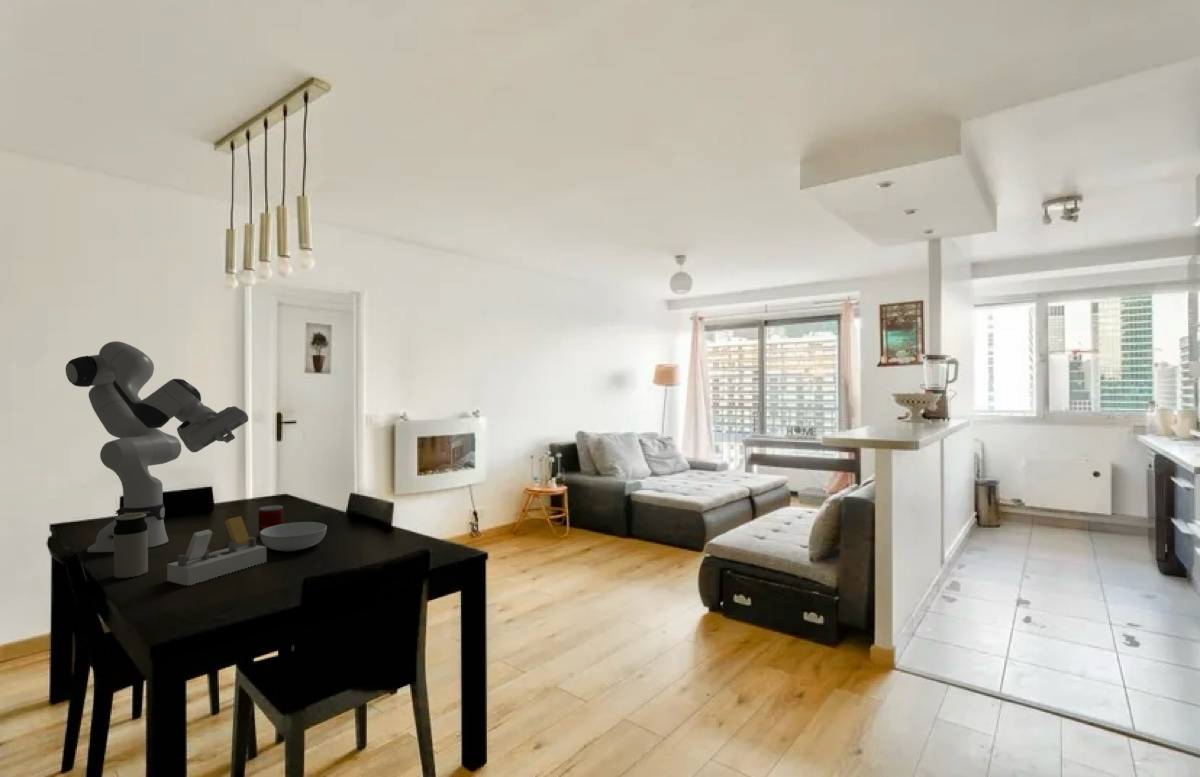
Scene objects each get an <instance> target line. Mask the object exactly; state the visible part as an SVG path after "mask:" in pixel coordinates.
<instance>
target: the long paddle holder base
mask: <svg viewBox="0 0 1200 777" xmlns="http://www.w3.org/2000/svg"><path fill="white" fill-rule="evenodd" d="M249 538H250V540H249V541H251V545H248V546H244V547H240V548H237V543H236V542H232V541H229V542H228V547H227V548H223V549H218V550H216V551H212V552H210V549H208V548H207V549H206V552H205V554H204V557H203V558H199V559H196V560H192V561H188V562H187V556H185V555H186V554H185V555H184V554H178V555H177V561H174V562H171V563H170V562H169V563H167V564H166V567H167V568H166V569H167V570H166V572H167V573H166V574H167V575H166V576H167V578H166V580H167V582H169V581H170V583H174V584H179V585H182V586H186V585H187V587H188V586H189V585H190V586H192V585H193V586H194V585H196V583H197V584H199V582H200V583H203V582H207V581H209V579H210V580H213V579H216V578H219V577H218V576H220V577H223V576H225V574H226V575H229V574H232V572H233V573H235V571H236V572H239V571H242V570H241V569H243V570H246V569H249V568H251V566H252V567H255V566H254V565H256V566H258V564H259V565H262V564H264V562H265V563H267V546H265V545H258V544H257V537H254V536H249ZM261 563H262V564H261ZM248 567H249V568H248ZM245 568H246V569H245ZM238 570H239V571H238ZM228 573H229V574H228ZM222 575H223V576H222ZM215 577H216V578H215ZM212 578H213V579H212ZM190 586H189V587H190Z"/></svg>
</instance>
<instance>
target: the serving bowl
mask: <svg viewBox="0 0 1200 777" xmlns="http://www.w3.org/2000/svg"><path fill="white" fill-rule="evenodd" d="M327 529H328V526H327V525H326V524H325V523H321V522H316V521H315V522H314V521H299V522H297V521H296V522H289V523H288V522H287V523H283V524H280V525H275V526H271V527H268V528H265V529H263V530H262V531H260V537H261V538H260V537H259V538H260V540H261V542H262V543H263V546H264V547H266V548H268V549H271V550H273V551H274V550H275V551H280V552H296V551H297V550H298V551H302V549H303V550H306V549H308V548H310V547H313V546H316V545H317V544H319V543H320V542H321V541H322V540H323V539H324V538H325V536H326V534H327Z"/></svg>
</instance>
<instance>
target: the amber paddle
mask: <svg viewBox="0 0 1200 777" xmlns="http://www.w3.org/2000/svg"><path fill="white" fill-rule="evenodd" d="M243 519H244V518H243V517H242V515H241V516H240V515H239V516H236V517H231V518H228V519H227V520H224V524H225V526H226V528H227V531H228V534H229V537H230V540H231V542H236V543H237V548H240V547H244V546H248V545H251V541H249V540H250V538H249V537H250V536H249V533H248V531H247V528H246V527H247V526H246V525H245V523H244V520H243Z"/></svg>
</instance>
